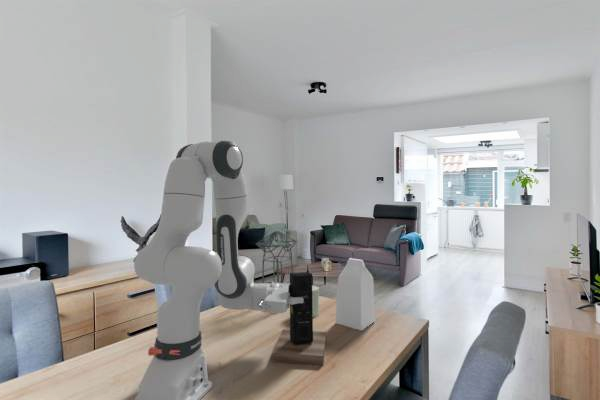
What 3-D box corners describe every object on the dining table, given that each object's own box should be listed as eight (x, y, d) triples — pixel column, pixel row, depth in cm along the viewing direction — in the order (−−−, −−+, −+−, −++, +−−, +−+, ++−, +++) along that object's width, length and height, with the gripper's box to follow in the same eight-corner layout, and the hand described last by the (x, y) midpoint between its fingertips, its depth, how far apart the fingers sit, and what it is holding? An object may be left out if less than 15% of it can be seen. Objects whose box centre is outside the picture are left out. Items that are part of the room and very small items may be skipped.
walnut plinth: (323, 365, 107) (323, 355, 107) (272, 362, 109) (272, 352, 109) (326, 340, 125) (326, 331, 125) (282, 337, 127) (282, 329, 127)
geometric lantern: (283, 312, 153) (281, 233, 152) (255, 307, 161) (253, 232, 160) (301, 302, 166) (299, 229, 165) (275, 297, 174) (272, 228, 173)
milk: (375, 321, 142) (375, 258, 141) (361, 330, 133) (361, 263, 132) (350, 315, 149) (350, 255, 149) (335, 323, 141) (335, 259, 140)
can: (295, 316, 148) (295, 288, 147) (301, 309, 156) (301, 283, 156) (316, 319, 145) (316, 290, 145) (321, 311, 154) (321, 284, 153)
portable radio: (291, 345, 112) (291, 268, 114) (286, 339, 118) (286, 265, 119) (314, 342, 115) (313, 266, 116) (308, 336, 120) (307, 264, 122)
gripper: (256, 297, 107) (300, 298, 106) (270, 279, 128) (307, 280, 126) (256, 317, 108) (300, 318, 106) (270, 296, 128) (308, 297, 126)
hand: (304, 297), depth 116 cm, fingers open, 3 cm apart
